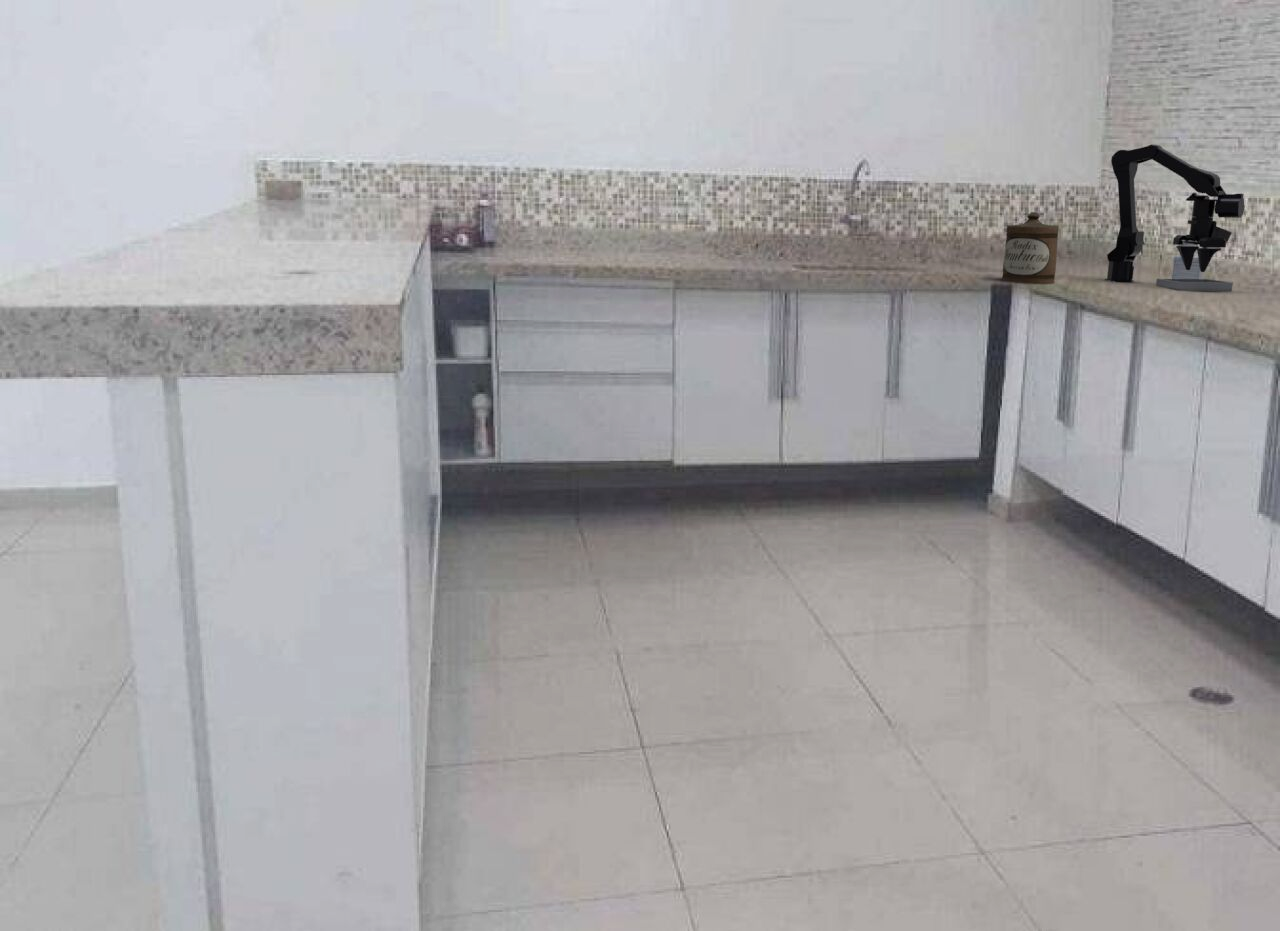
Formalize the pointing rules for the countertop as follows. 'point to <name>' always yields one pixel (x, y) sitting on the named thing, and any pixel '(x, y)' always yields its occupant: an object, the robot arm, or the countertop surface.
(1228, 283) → the tray
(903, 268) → the countertop surface
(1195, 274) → the medicine box
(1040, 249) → the wooden container
